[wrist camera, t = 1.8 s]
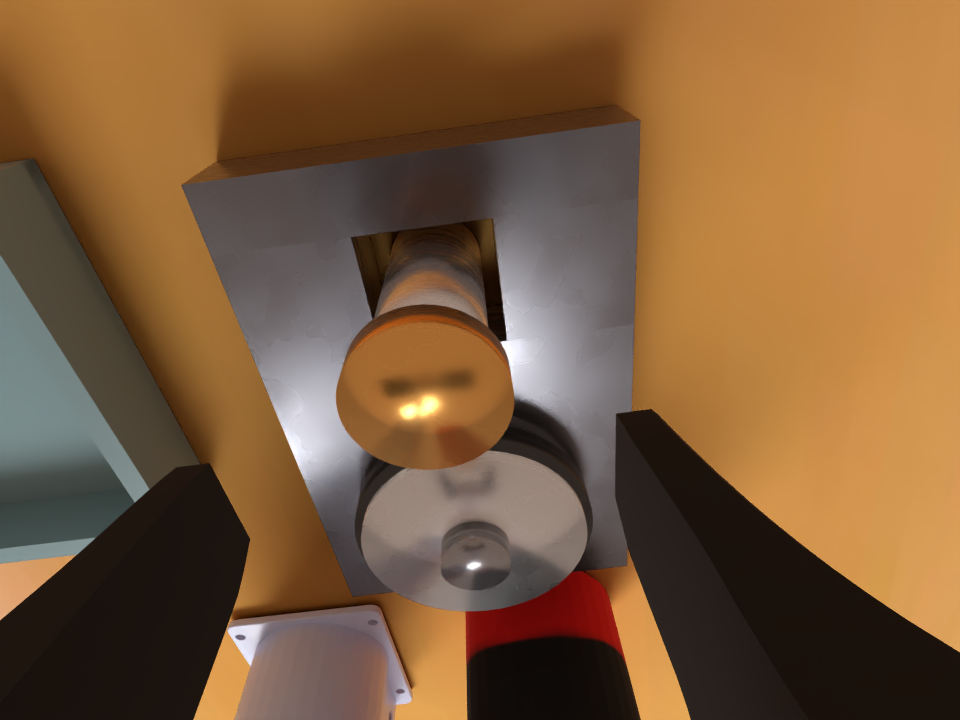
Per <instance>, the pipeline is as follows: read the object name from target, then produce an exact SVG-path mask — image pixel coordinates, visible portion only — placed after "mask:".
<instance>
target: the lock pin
mask: <svg viewBox="0 0 960 720" xmlns="http://www.w3.org/2000/svg"><path fill="white" fill-rule="evenodd" d="M336 407H337V411H338V415H339V418H340V420H341V422H342V425H343V426H344V428H345V429H346V431H347V433H348V434H349V435H350V436H351V438H352V439H353V440H354V441H355V442H356V443H357V444H358V445H359V446H360V447H361V448H363V449H364V450H365V451H367V452H368V453H370V454H371V455H373V456H375V457H376V458H378V459H380V460H383V461H385V462H387V463H390V464H393V465H396V466H400V467H404V468H409V469H418V470H436V469H444V468H450V467H454V466H458V465H461V464H464V463H466V462H469V461H471V460H473V459H475V458H477V457H479V456H481V455H482V454H484V453H485V452H487V451H488V450H489V449H490V448H491V447H493V446H494V445H495V444H496V443H497V442H498V441H499V439H500V438H501V437H502V436H503V434H504V433H505V431H506V430H507V428H508V425H509V423H510V421H511V418H512V415H513V410H514V390H513V384H512V377H511V371H510V365H509V360H508V357H507V354H506V351H505V349H504V347H503V345H502V344H501V342H500V340H499V339H498V338H497V337H496V335H495V334H494V333H493V332H492V331H491V330H490V329H489V328H488V321H487V311H486V301H485V292H484V282H483V273H482V263H481V254H480V249H479V245H478V243H477V241H476V239H475V237H474V235H473V234H472V233H471V232H470V230H469V229H468V228H467V227H465V226H464V225H463V224H461V223H460V222H459V223H452V224H444V225H437V226H430V227H422V228H415V229H408V230H401V231H400V232H399V233H398V235H397V236H396V238H395V240H394V243H393V246H392V250H391V254H390V258H389V262H388V265H387V269H386V273H385V277H384V281H383V285H382V289H381V293H380V297H379V301H378V305H377V309H376V313H375V317H374V319H373V320H372V321H370V322H369V323H368V324H367V325H366V326H364V327H363V328H362V329H361V330H360V332H359V333H358V334H357V335H356V336H355V338H354V339H353V341H352V342H351V344H350V346H349V349H348V351H347V353H346V357H345V360H344V363H343V366H342V370H341V373H340V376H339V380H338V384H337V388H336Z"/></svg>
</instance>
